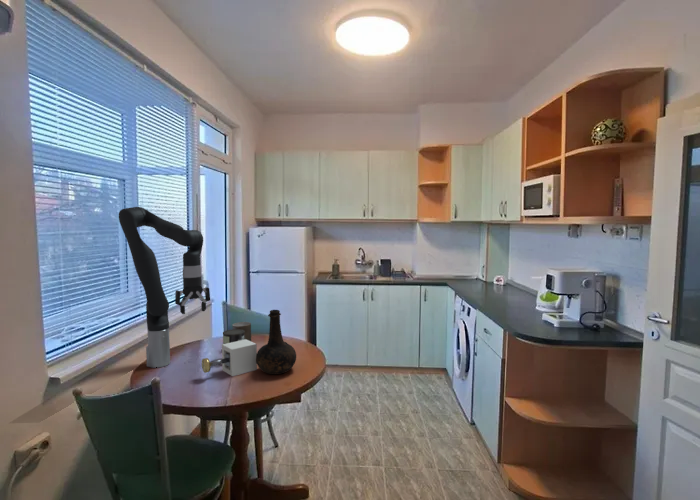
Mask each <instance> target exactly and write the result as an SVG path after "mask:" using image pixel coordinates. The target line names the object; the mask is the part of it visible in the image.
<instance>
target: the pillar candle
mask: <svg viewBox="0 0 700 500" xmlns="http://www.w3.org/2000/svg"><path fill="white" fill-rule="evenodd" d="M232 329H241V330H244V331H245V333H244V340H245V339H247V340H249V341H251V342H252V323H251V322H250V321H240V322H235V323H232Z"/></svg>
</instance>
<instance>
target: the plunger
mask: <svg viewBox="0 0 700 500" xmlns="http://www.w3.org/2000/svg"><path fill="white" fill-rule="evenodd" d="M223 363H225V364H226V365H228V366H229V367H230V354H228V353H225V358H224V359H222V358H221V359H217V360H212V361H210V359H209V358H208V357H205V358H202V360H201V370H202V372H203V373H205V374H206V373H210V372H211V367H215V366H218V365H222V364H223Z"/></svg>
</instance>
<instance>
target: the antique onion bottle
mask: <svg viewBox="0 0 700 500" xmlns="http://www.w3.org/2000/svg"><path fill="white" fill-rule="evenodd" d="M281 315H282V313H281V312H280V310H278V309H271V310H269V313H268V315H267V316H268V317H269V333H268V340H267V343H266V344H264V345H263V346H261V347H260V348H259V349H258V350H257V355H256V363H257V367H258V368H259V369H260V370H261V371H263V372H264V373H265V374H267V375H268V374H269V375H281V374H284V373H287V372H288V371H290V370H291V369H292V368H293V367H294V365H295V363H296V361H297V352H296V350H295V348H294V346H292V345H291V344H289V343H288V342H286V341H285V340H284V338H283V334H282V328H281V318H280V317H281Z"/></svg>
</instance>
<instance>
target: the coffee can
mask: <svg viewBox="0 0 700 500" xmlns="http://www.w3.org/2000/svg"><path fill="white" fill-rule="evenodd" d="M244 333H245V331H244V330H241V329H233V328H232V329H227V330H224V331H223V332H222V343H223V344H227V343H231V342H236V341H241V340H244Z"/></svg>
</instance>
